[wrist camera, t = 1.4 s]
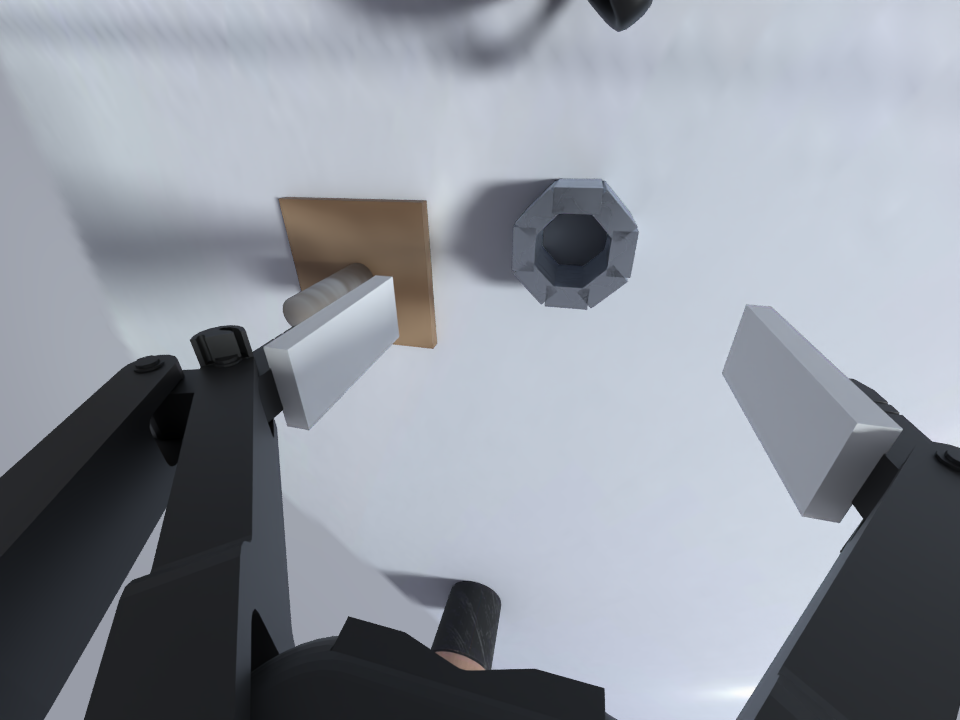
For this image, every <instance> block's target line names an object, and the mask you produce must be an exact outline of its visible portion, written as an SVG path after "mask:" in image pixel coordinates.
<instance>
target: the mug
mask: <svg viewBox="0 0 960 720" xmlns="http://www.w3.org/2000/svg"><path fill="white" fill-rule="evenodd" d="M588 2H589V3H590V4H591V5H592V7H593V8H594V9H595V10H596V11H597V13H598V14H599V15H600V16H601V17H602V18H603V20H604V21H605V22H606V23H607V24H608V25H609V26H610V27H611V28H613V29H614V30H616V31H617V32H620V31H623V30H626V29H627V28H629V27H630V26H631V25H633V24H634V23H635V22H636V21H637V20H639V19H640V18H641V17H642V16H643V15H644V14H645V12H646V11H647V10H648V8H649V7H650V6H651V4H652V0H588Z"/></svg>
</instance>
